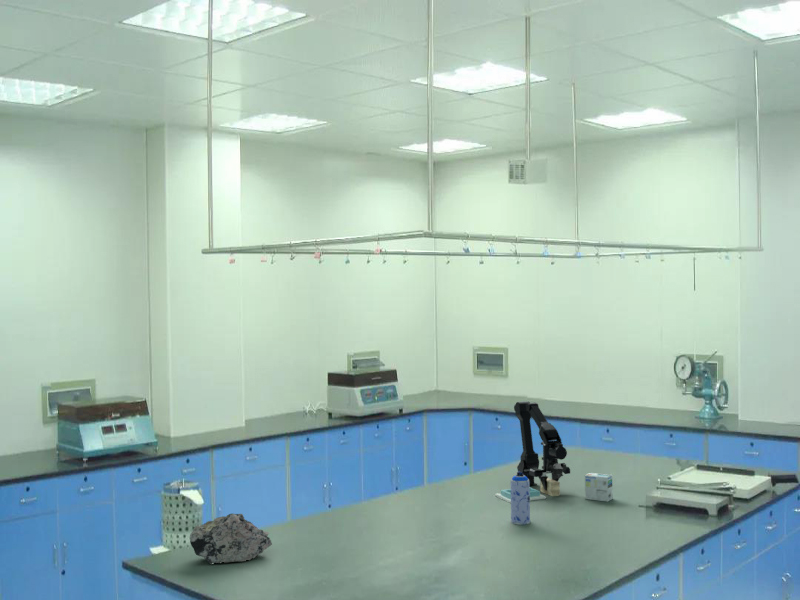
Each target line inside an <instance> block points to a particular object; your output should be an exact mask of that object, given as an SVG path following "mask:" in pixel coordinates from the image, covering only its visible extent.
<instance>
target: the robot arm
mask: <svg viewBox="0 0 800 600" xmlns="http://www.w3.org/2000/svg"><path fill="white" fill-rule="evenodd" d="M513 410H514V412H515V414H514V415H515V416H516V418H517V419H518V421H519V425H520V435H521V443H522V452H521V455H520V462H519V463H518V465H517V467H516V469H517V472H519V471H522V472H523V475H525V476H526V477H527V478H528V479H529V482H530V487H531V486H537V485H538V483H536V482H535V478H538V479H539V481H541V483H542V485H543V487H544V489H545V491H547V478H549V477H548V476H547V474H551V479H552V480H555V481H558V482H559V480H560V479H561V478H562V477H563V476H564V475H568V474H571V468H570V467H569V466H567V463H565V462H561V463H559V460H561V461H562V460H565V458H567V455H568V451H567V449H566V447H564V446H563V445H564V444H563V442H562V438H561V437H560V434H559V431H558V430H557V428H556V427H555V426H554V425H553V424H551V423H549V421H548V420H547V418H546V417H545V415H544V414H543V412H542V410H541V408H540V407H539V404H538V403H537V402H530V401H527V400H526V401H517V402H516V403H515V404H514V406H513ZM531 418H532V420H533V421H534V422H535V424H536V426H537V428H538V430H539V432H538V435H539V436H540V439H541V442H540V445H542V457H541V460H542V461H543V462H542V466H541V469H540V468H539V467H540V460H539V459H540V458H539V453H537V452H535V450H534V443H533V434H532V426H531V425H532V423H531Z"/></svg>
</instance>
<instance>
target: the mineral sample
mask: <svg viewBox="0 0 800 600" xmlns="http://www.w3.org/2000/svg"><path fill="white" fill-rule="evenodd" d="M269 534H270V533H269V532H268V531H264V530H263V529H260V528H259V527H257V526H256V525H254V523H253V522H251V521H248V520H247V519H245V517H244V514H243V513H229V514H227V515H226V516H219V517H216V518H214V519H213V520H208V521H206V522H205V523H203V524H200V525H195V527H194V529H193V530H192V532H191V533H190V536H189V539H190V546H191V547H192V548H193V551H194V554H195V555H196V556H199V557H202V558H204V559H205V560H206V561H208V564H209V563H210V564H209V565H212V563H220V562H221V563H220V564H223V563H222V562H224V563H234V562H247V561H246V560H249V561H250V560H253V559H255V558H257V557H258V555H260V554H262V553H263V552H264V551H265V550H267V549H268V548H269V547H270V546H272V545H273V543H272V540H271V537H268V535H269ZM252 558H253V559H252Z"/></svg>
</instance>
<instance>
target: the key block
mask: <svg viewBox="0 0 800 600" xmlns="http://www.w3.org/2000/svg"><path fill="white" fill-rule="evenodd" d="M539 481H540V480H539ZM539 487H540V493H543V494H545V495H549V496H550V497H557V496H561V495H560V491H561V488H560V481H559V480H558V481H555V480H552V478H550V477H548V478H547V491H545V489H544V487H543V485H542V483H541V481H540V486H539Z"/></svg>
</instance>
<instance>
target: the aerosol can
mask: <svg viewBox="0 0 800 600" xmlns="http://www.w3.org/2000/svg"><path fill="white" fill-rule="evenodd" d="M530 487H531V486H530V482H529V479H528V478H527V477H526V476H525V475H523V472H522V471H519V472H518V471H517V472H516V475H513V476H512V477H511V479H510V489H511V503H510V517H511V518H510V523H511V524H514V525H521V526H522V525H529V524H531V505H530V504H531V500H530Z"/></svg>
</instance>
